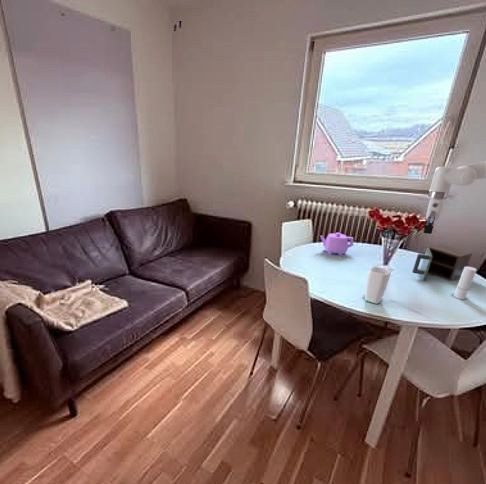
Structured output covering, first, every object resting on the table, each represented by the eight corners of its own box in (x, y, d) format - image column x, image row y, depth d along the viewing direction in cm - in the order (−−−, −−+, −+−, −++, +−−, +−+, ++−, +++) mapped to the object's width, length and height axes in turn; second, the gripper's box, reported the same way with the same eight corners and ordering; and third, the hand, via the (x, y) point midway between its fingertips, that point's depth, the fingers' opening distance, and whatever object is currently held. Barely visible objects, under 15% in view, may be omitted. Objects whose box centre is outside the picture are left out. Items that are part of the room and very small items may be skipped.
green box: (410, 279, 160) (418, 254, 154) (409, 269, 172) (416, 246, 166) (424, 282, 157) (432, 256, 152) (421, 271, 169) (429, 247, 164)
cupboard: (450, 282, 158) (460, 256, 152) (421, 271, 170) (429, 247, 164) (462, 278, 163) (472, 253, 157) (433, 267, 175) (441, 244, 169)
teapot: (349, 250, 199) (353, 231, 194) (352, 257, 188) (357, 237, 183) (317, 247, 203) (320, 228, 198) (318, 254, 192) (321, 234, 187)
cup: (383, 300, 139) (392, 270, 133) (378, 306, 135) (386, 275, 128) (366, 295, 144) (374, 265, 138) (361, 300, 139) (368, 270, 133)
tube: (461, 301, 140) (473, 271, 133) (451, 297, 143) (462, 267, 137) (466, 299, 141) (478, 269, 135) (456, 295, 145) (467, 265, 139)
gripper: (448, 198, 135) (436, 236, 142) (447, 193, 148) (436, 227, 155) (428, 197, 139) (417, 234, 146) (428, 191, 152) (419, 225, 159)
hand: (427, 230), depth 150 cm, fingers open, 9 cm apart
